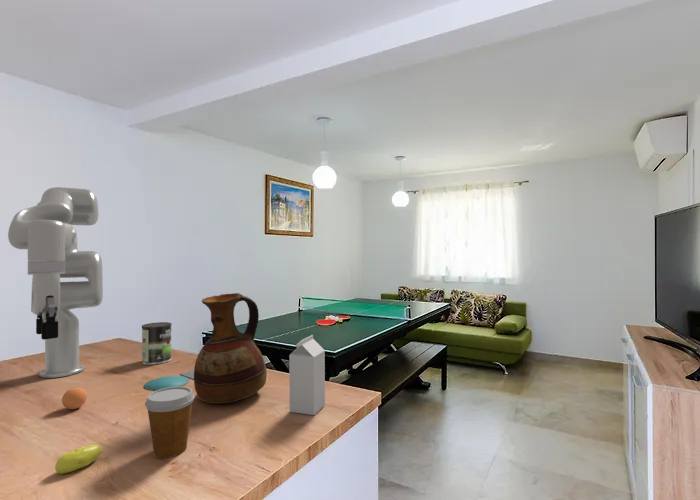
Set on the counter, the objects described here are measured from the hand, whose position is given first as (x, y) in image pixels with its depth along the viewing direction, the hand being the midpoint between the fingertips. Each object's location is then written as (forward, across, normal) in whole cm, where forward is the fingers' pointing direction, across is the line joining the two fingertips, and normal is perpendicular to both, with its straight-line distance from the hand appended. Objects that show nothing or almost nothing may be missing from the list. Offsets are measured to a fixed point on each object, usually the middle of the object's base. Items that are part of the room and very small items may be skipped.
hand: (46, 335), depth 98 cm
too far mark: (+20, -7, +43) cm, 48 cm away
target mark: (+21, -6, +31) cm, 38 cm away
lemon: (+22, +32, +1) cm, 39 cm away
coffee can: (+20, -34, +38) cm, 55 cm away
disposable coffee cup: (+22, +39, +16) cm, 47 cm away
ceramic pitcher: (+21, +20, +40) cm, 49 cm away
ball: (+18, -2, +6) cm, 19 cm away
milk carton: (+22, +43, +50) cm, 69 cm away
